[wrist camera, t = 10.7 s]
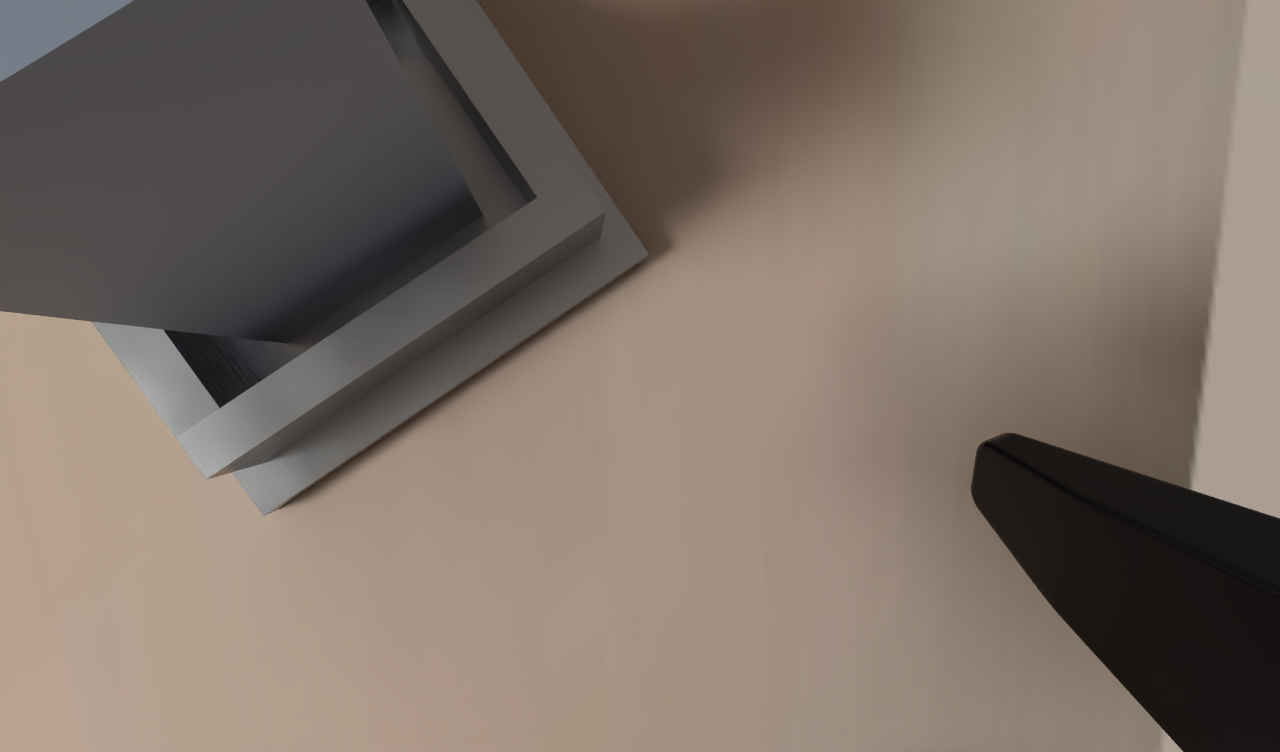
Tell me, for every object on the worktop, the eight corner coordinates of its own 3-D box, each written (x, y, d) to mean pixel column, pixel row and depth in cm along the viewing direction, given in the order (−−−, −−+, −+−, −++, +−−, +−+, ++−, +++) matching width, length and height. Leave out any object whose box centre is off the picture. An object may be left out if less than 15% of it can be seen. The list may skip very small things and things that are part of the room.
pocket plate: (645, 259, 20) (665, 227, 16) (276, 510, 19) (193, 547, 15) (406, -94, 19) (360, -224, 15) (16, 149, 19) (-146, 83, 14)
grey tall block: (482, 214, 19) (269, -174, 6) (286, 343, 18) (-455, 259, 5) (374, 55, 19) (-124, -751, 5) (172, 182, 18) (-911, -343, 5)
